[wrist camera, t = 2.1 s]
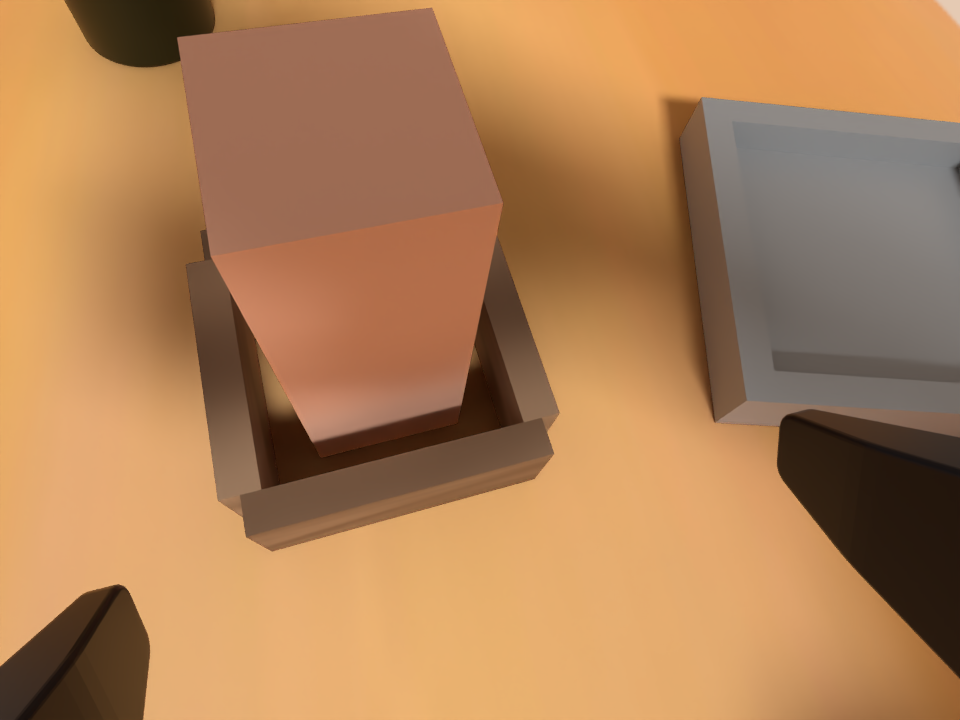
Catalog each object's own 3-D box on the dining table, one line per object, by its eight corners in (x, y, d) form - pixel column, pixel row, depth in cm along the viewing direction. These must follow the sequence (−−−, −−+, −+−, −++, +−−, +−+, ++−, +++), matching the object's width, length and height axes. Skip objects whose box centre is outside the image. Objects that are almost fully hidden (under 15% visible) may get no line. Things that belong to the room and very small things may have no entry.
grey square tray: (1053, 442, 25) (1117, 423, 23) (715, 422, 24) (746, 400, 22) (957, 164, 31) (1001, 126, 28) (679, 138, 30) (701, 97, 27)
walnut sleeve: (549, 474, 23) (572, 449, 19) (253, 556, 21) (223, 543, 17) (470, 237, 26) (478, 182, 23) (212, 286, 24) (182, 234, 21)
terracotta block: (457, 423, 23) (503, 203, 11) (320, 457, 22) (210, 256, 10) (423, 306, 25) (432, 7, 13) (295, 332, 24) (177, 37, 12)
